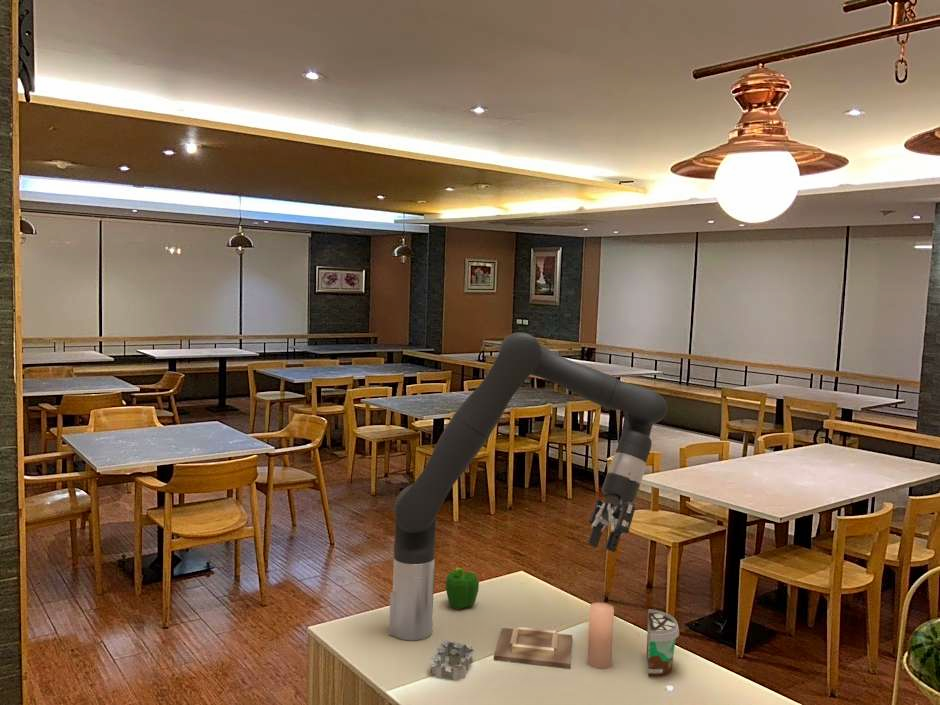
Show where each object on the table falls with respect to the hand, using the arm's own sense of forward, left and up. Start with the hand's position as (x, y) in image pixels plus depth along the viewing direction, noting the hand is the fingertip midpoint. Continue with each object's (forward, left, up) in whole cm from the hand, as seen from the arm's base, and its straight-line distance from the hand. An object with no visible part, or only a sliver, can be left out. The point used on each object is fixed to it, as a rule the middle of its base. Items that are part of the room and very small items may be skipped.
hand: (600, 548), depth 157 cm
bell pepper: (-33, +19, -23) cm, 45 cm away
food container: (+14, -3, -23) cm, 27 cm away
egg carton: (-29, -13, -24) cm, 40 cm away
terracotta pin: (+1, -4, -23) cm, 24 cm away
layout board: (-13, -1, -23) cm, 27 cm away
